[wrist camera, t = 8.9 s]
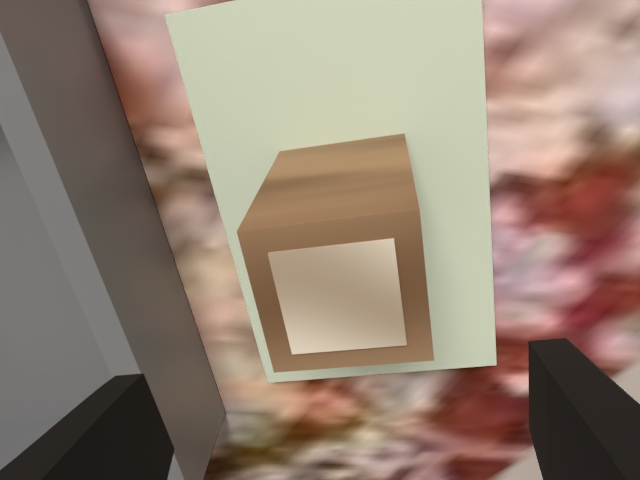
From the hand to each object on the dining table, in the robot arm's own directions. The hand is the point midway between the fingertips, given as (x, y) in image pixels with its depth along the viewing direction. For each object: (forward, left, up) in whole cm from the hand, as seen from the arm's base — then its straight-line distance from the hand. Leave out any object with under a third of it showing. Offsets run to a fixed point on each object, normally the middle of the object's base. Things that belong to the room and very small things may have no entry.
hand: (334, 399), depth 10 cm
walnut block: (0, 0, -9) cm, 9 cm away
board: (0, 0, -9) cm, 9 cm away
